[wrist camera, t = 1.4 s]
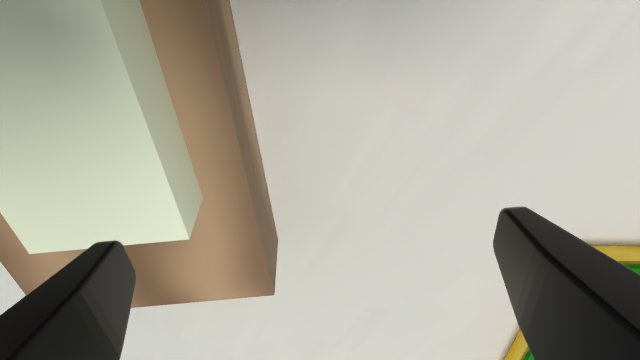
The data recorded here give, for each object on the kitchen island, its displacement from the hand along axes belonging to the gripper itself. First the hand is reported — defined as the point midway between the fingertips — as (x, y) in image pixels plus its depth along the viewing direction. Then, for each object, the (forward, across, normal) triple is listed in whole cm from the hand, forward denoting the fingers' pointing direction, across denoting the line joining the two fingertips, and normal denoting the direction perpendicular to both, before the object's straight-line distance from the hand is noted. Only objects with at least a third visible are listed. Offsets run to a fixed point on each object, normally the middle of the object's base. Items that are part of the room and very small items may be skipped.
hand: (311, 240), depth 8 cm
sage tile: (+8, +8, 0) cm, 11 cm away
